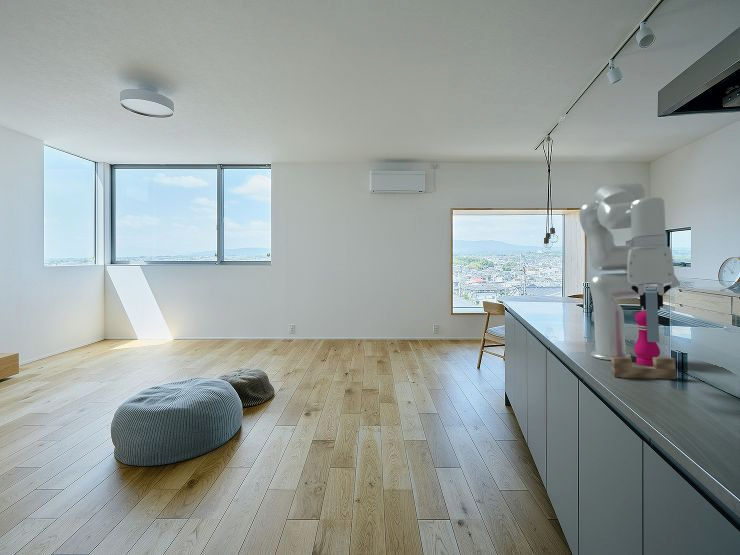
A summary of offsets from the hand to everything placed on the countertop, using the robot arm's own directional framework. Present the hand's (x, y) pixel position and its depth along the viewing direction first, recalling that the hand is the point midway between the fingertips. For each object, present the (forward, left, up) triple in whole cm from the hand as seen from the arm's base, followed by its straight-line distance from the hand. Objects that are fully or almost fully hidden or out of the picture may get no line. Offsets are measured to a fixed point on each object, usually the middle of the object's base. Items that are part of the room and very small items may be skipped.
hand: (651, 308), depth 101 cm
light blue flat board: (0, 0, -8) cm, 8 cm away
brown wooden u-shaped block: (-12, -5, -23) cm, 26 cm away
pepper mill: (-30, -7, -23) cm, 38 cm away
